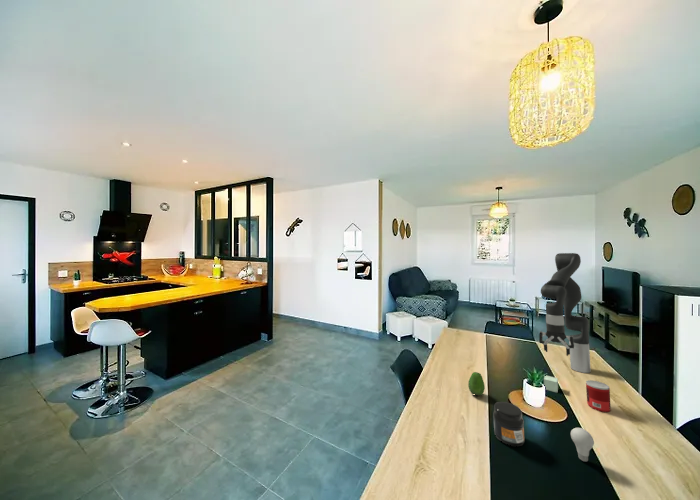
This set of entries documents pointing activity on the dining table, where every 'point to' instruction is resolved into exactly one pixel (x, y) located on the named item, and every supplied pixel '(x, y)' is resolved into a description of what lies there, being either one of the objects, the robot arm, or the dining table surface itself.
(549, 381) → the sage block
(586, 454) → the lightbulb
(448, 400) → the dining table surface
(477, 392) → the avocado
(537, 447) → the dining table surface
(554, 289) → the robot arm
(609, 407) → the canned food
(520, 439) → the supplement container
